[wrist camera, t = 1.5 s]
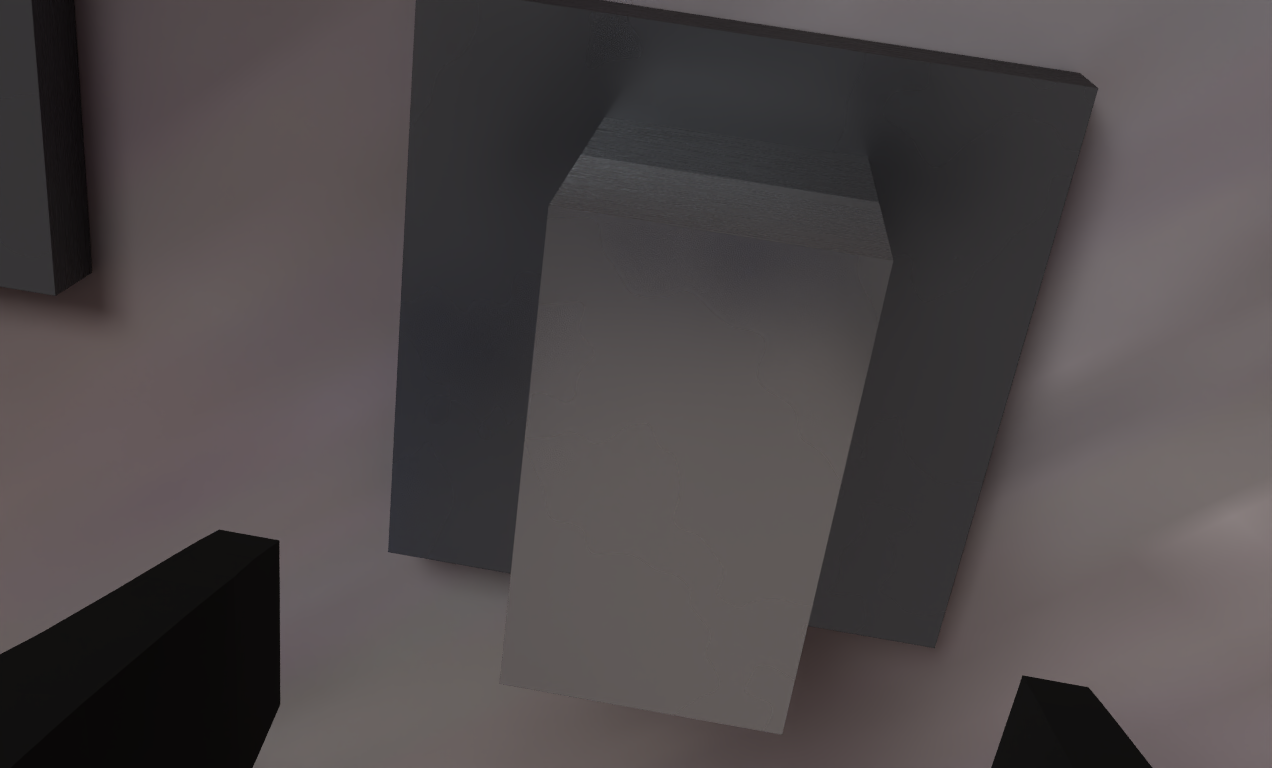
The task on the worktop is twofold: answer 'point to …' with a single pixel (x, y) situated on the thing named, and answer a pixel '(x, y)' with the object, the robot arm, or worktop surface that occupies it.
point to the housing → (690, 418)
